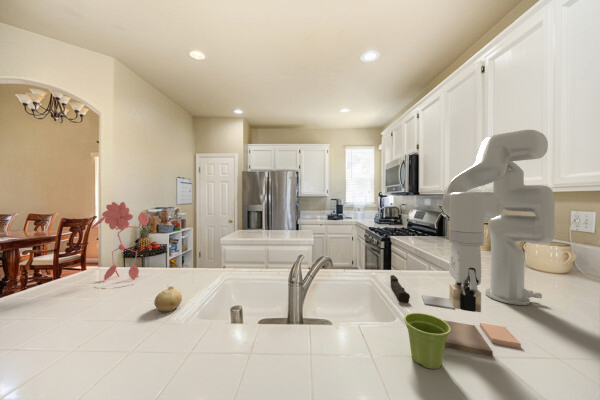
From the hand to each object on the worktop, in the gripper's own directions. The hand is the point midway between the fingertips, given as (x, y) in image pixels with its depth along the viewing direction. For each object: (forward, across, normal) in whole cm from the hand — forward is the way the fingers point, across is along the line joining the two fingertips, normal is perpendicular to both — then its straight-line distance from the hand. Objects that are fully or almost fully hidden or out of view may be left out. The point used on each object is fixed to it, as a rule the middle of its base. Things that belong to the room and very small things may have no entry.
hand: (464, 305), depth 61 cm
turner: (0, 0, -3) cm, 4 cm away
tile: (+8, -9, +9) cm, 15 cm away
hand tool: (+9, -26, -16) cm, 32 cm away
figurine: (+10, +8, -129) cm, 130 cm away
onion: (+10, +17, -87) cm, 89 cm away
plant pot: (+9, +13, -11) cm, 19 cm away
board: (+9, 0, -3) cm, 9 cm away
